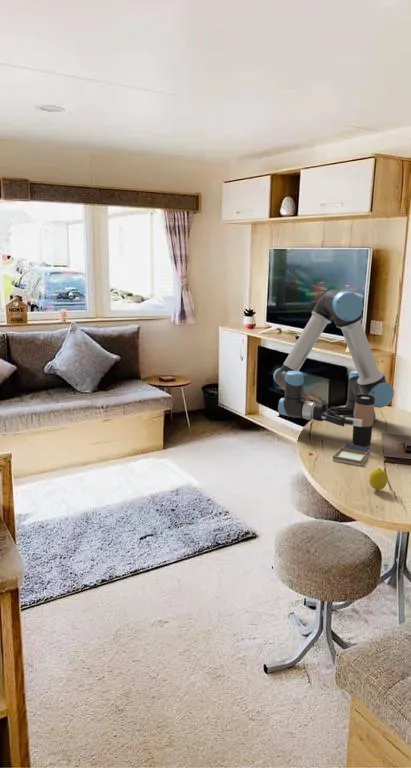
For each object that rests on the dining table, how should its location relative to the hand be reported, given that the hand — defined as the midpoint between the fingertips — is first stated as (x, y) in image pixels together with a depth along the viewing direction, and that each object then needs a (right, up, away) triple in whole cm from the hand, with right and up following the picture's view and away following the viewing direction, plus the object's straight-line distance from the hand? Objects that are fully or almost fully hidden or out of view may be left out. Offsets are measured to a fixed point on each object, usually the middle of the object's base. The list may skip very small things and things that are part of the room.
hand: (365, 418), depth 225 cm
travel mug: (-1, -11, +4) cm, 11 cm away
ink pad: (-5, -12, -5) cm, 14 cm away
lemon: (-8, -21, -40) cm, 46 cm away
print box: (-10, -14, -12) cm, 21 cm away
